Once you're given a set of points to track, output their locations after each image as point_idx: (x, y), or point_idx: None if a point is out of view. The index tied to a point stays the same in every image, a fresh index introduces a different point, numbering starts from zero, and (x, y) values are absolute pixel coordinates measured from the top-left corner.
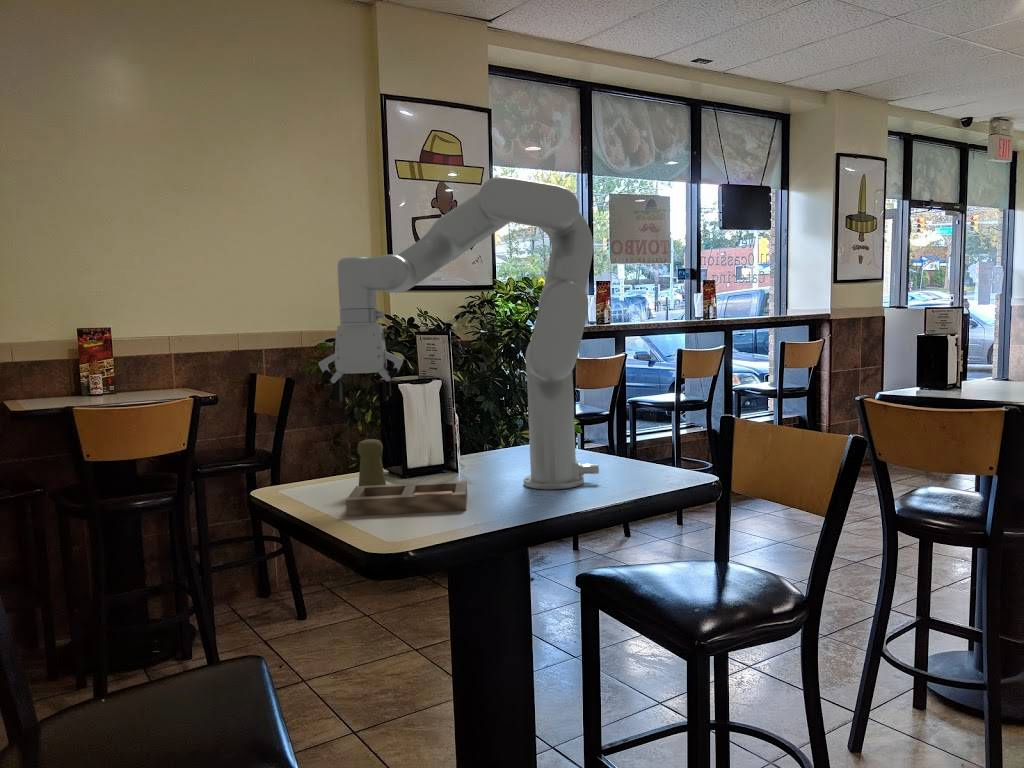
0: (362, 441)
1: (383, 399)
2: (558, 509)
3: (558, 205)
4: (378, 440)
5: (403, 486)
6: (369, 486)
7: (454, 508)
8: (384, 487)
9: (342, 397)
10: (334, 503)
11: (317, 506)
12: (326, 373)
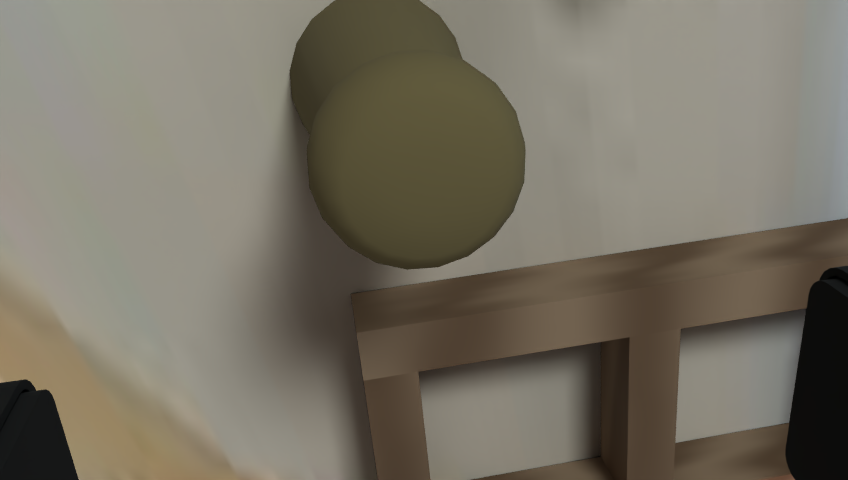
0: (368, 222)
1: (796, 471)
2: None
3: None
4: (505, 168)
5: (617, 336)
6: (436, 343)
7: None
8: (520, 354)
9: (34, 420)
10: (243, 333)
11: (175, 386)
12: None
